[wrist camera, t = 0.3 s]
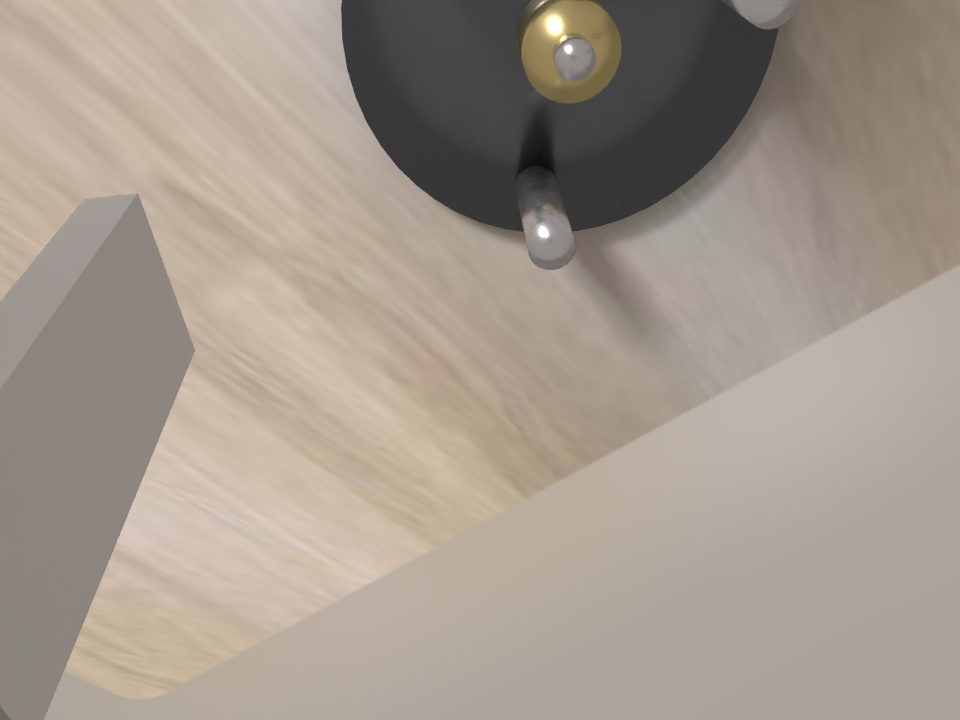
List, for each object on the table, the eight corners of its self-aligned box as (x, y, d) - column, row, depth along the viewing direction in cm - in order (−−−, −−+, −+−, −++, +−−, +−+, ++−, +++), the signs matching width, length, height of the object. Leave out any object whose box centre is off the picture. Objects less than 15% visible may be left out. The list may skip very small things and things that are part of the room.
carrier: (260, -102, 33) (218, -73, 26) (717, -338, 29) (798, -371, 23) (450, 271, 43) (454, 358, 37) (803, 132, 40) (876, 200, 33)
